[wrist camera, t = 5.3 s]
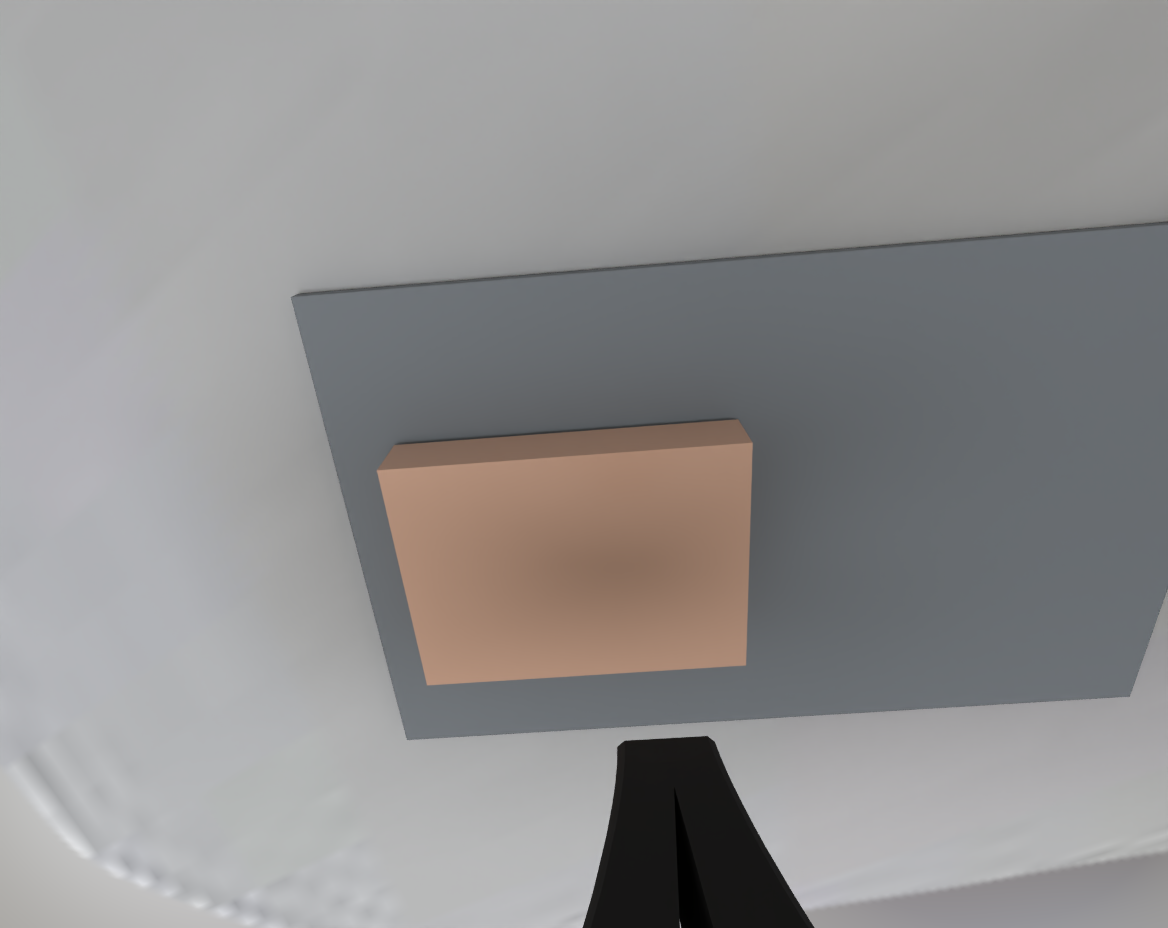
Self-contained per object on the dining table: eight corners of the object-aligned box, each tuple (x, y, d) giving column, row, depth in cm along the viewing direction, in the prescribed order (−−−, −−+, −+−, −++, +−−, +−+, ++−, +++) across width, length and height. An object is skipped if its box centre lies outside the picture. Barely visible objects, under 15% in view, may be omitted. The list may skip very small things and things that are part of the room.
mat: (1280, 212, 14) (1299, 213, 13) (1119, 686, 19) (1129, 696, 19) (298, 293, 14) (290, 297, 14) (410, 729, 20) (407, 739, 19)
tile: (753, 442, 14) (376, 470, 14) (746, 665, 16) (427, 685, 16) (736, 416, 15) (396, 441, 15) (732, 624, 18) (439, 643, 18)
